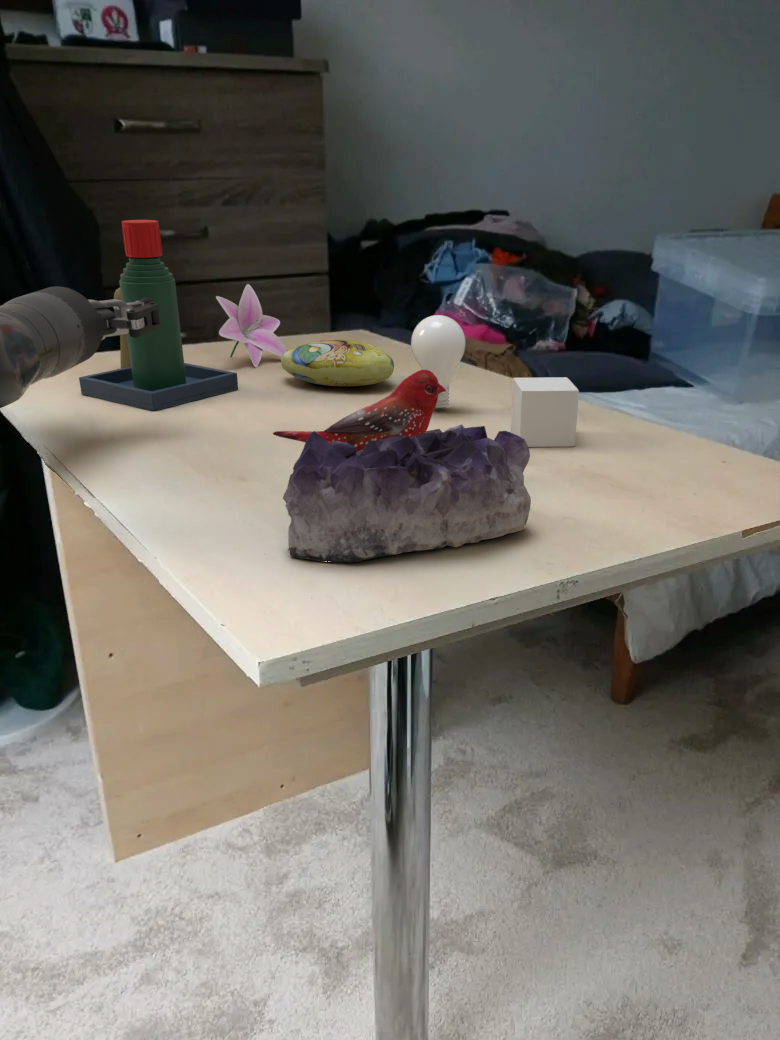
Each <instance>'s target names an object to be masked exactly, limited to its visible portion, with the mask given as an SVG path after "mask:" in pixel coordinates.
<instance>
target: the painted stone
mask: <svg viewBox="0 0 780 1040" xmlns="http://www.w3.org/2000/svg"><path fill="white" fill-rule="evenodd" d="M280 363H281V366H282V369H283V370H284V371H285V372H286V373H287V374H289V375H291V376H292V377H294V378H296V379H298V380H300V381H303V382H306V383H311V384H315V385H321V386H328V387H339V388H340V387H341V388H343V387H344V388H346V387H349V388H351V387H362V386H370V385H375V384H379V383H382V382H384V381H386V380H388V379H389V378H390V377H391V376H393V373H394V370H395V363H394V359H393V358H392V357H391V356H390V354H388V353H387V352H386V351H385V350H383V349H382V348H380V347H378V346H377V345H374V344H369V343H367V342H362V341H357V340H351V339H350V340H349V339H326V340H318V341H313V342H308V343H303V344H301V345H297V346H293V347H292V348H289V349H287V351H286V352H285V353H283V355H282V356H281V357H280Z"/></svg>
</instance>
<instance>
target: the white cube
mask: <svg viewBox="0 0 780 1040" xmlns="http://www.w3.org/2000/svg"><path fill="white" fill-rule="evenodd" d="M511 393H512V395H511V413H510V417H511V418H510V433H513V434H515V435H517V436H520V437H521V438H523V439H524V440H525V441H526V443H527V446H528V448H551V447H552V448H555V447H556V448H558V447H559V448H560V447H562V448H565V447H567V448H568V447H576V438H577V437H576V435H577V423H578V410H579V395H580V390H579V389H578V387H577V386H576V385H575V384H574V383H573V382H572V380H570V378H568V376H567V377H566V376H563V377H560V376H559V377H557V376H556V377H554V376H553V377H552V376H551V377H549V376H547V377H512V392H511Z"/></svg>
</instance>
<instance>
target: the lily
mask: <svg viewBox="0 0 780 1040" xmlns="http://www.w3.org/2000/svg"><path fill="white" fill-rule="evenodd" d="M215 299H216V300H217V302H218V303H219V304H220V305H219V306H221V308H222V309H223V310H224V312H225V314H226V315H227V317H229V318H228V319H227V320H226V321H225V322H224V323H223V324H222V326H221V327H220V329H219V330H218V336H220V337H222V338H225V339H229V340H234V341H236V342H235V344H234V346H233V348H232V350H231V353H230V355H229V358H231V357H232V358H233V355H234V354H235V351H236V349H237V347H238V345H239V343H240V342H241V343H243V344H244V346H245V349H246V351H247V353H248V356H249V358H250V360H251V362H252V364H253V366H254V367H255V368H258V366H259V364H260V362H261V359H262V357H263V352H264V351H267V352H268V353H269V352H270V353H272V354H274V355H276V356H279V357H280V358H281V356H282V355H283V353H285V352H286V351H287V350H288V349H287V348H286V346H285V344H284V343H283V342H282V340H281V339H280V338H279V336H278V335H276V334H275V333H274V332H275V331H276V330H277V329H278V328H279V326H280V325H281V321H280V320H279V319H278V318H276V317H273V316H271V315H267V314H263V308H262V305H261V302H260V300H259V297H258V295H257V293H256V291H255V290H254V289H253V287H252V286H251V285H250V284H249V283H246V285H245V287H244V289H243V292H242V294H241V297H240V300H239V303H238V305H237V304H236V303H234V302H233V301H231V300H229V299H227V298H225V297H222V296H219V295H216V296H215ZM263 350H264V351H263Z"/></svg>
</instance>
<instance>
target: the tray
mask: <svg viewBox="0 0 780 1040" xmlns="http://www.w3.org/2000/svg"><path fill="white" fill-rule="evenodd" d="M184 366H185V375H186V384H181V385H177V386H173V387H169V388H165V389H160V390H156V391H153V392H152V391H148V390H143V389H139V388H134V386H133V378H132V371H131V366H130V367H126V368H121V367H120V368H117V369H111V370H107V371H101V372H97V373H92V374H89V375H83V376H79V377H78V381H79V388H80V393H81V395H85V396H88V397H92V398H98V399H101V400H106V401H110V402H113V403H118V404H121V405H127V406H131V407H135V408H139V409H142V410H147V411H152V412H156V411H160V410H164V409H167V408H171V407H175V406H180V405H183V404H186V403H191V402H194V401H199V400H203V399H206V398H210V397H213V396H217V395H221V394H225V393H226V394H227V393H230V392H233V391H237V390H239V382H238V373H237V372H233V371H228V370H223V369H218V368H213V367H208V366H203V365H198V364H192V363H189V362H188V363H187V362H184Z"/></svg>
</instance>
